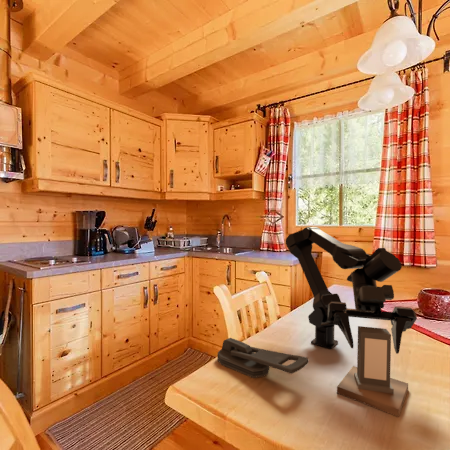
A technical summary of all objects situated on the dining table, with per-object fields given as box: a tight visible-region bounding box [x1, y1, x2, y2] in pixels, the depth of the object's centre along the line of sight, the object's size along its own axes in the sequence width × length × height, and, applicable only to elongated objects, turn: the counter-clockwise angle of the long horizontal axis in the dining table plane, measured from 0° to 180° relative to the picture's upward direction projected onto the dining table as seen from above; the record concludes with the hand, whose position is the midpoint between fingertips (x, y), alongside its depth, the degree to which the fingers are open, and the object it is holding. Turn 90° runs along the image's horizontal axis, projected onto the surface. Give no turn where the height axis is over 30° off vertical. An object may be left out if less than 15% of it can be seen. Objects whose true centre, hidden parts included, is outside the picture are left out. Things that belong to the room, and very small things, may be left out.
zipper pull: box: [217, 337, 309, 379], centre depth 73 cm, size 9×7×25 cm
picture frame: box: [354, 325, 394, 394], centre depth 65 cm, size 5×7×12 cm
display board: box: [336, 365, 409, 418], centre depth 65 cm, size 12×12×2 cm
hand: (374, 350), depth 64 cm, fingers open, 9 cm apart
